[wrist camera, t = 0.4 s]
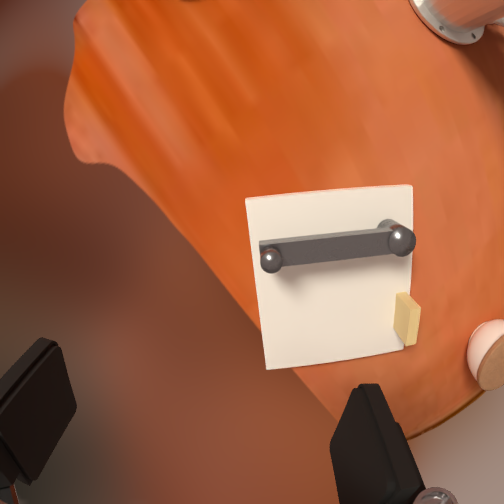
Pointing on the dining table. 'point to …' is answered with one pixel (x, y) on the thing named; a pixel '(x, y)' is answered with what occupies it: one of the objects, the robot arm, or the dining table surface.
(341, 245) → the bar
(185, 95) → the dining table surface
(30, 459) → the robot arm
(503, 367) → the lidded jar
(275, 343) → the door board
